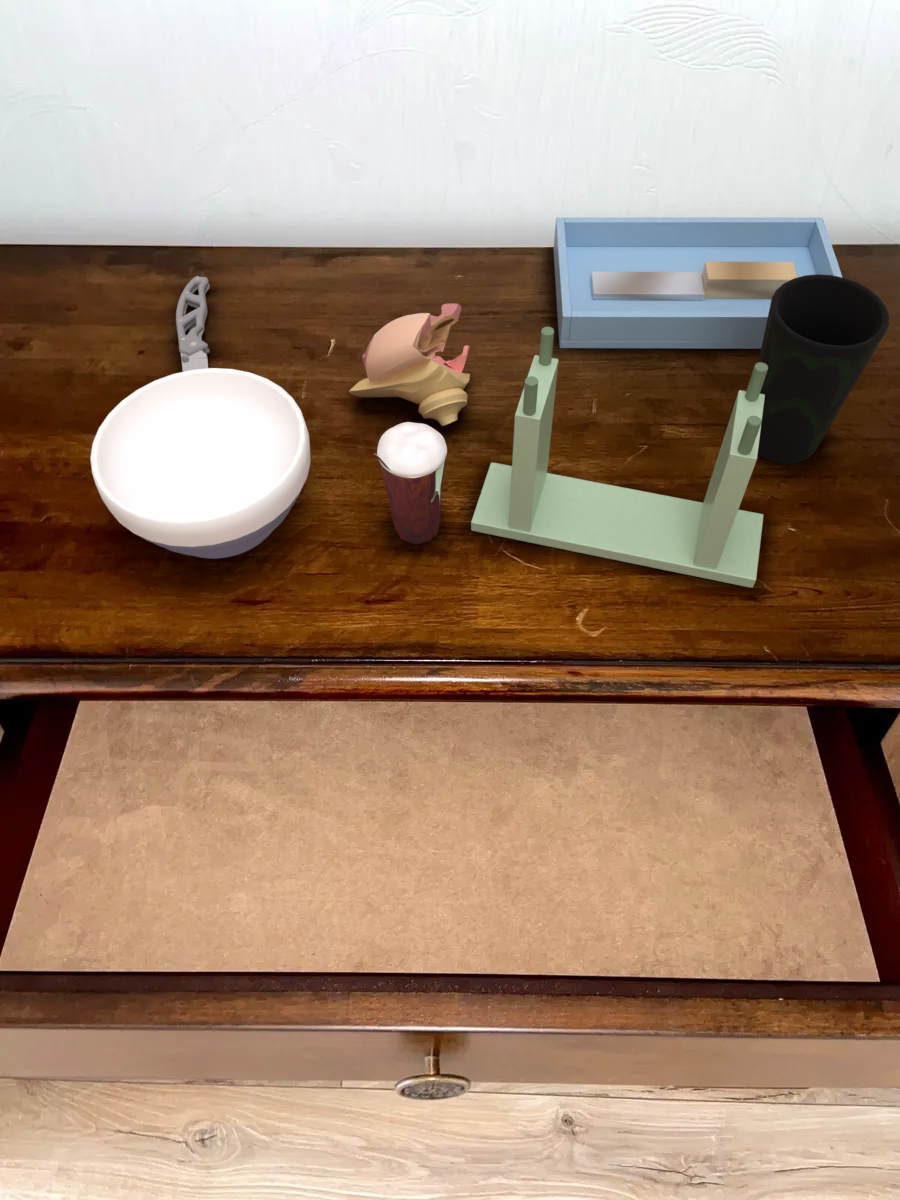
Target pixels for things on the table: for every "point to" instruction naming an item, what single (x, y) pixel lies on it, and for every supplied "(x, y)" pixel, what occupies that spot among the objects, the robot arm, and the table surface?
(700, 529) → the rack
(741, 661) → the table surface
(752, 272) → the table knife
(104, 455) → the bowl
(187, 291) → the knife
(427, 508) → the milkshake
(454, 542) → the table surface
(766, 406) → the cup
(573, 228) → the tray
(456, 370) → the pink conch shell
